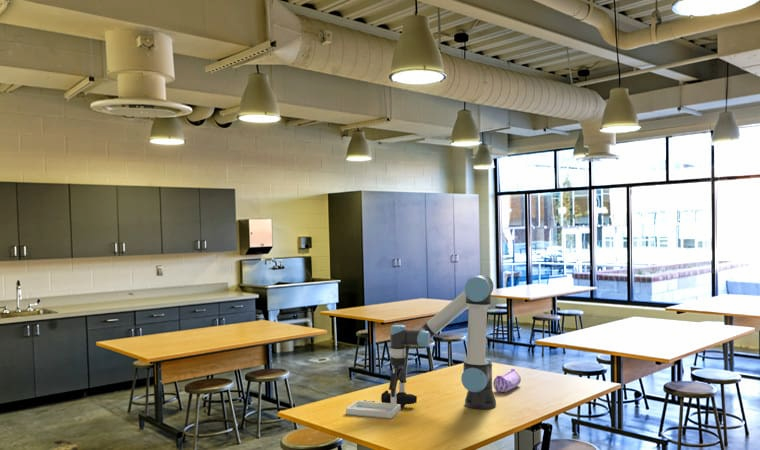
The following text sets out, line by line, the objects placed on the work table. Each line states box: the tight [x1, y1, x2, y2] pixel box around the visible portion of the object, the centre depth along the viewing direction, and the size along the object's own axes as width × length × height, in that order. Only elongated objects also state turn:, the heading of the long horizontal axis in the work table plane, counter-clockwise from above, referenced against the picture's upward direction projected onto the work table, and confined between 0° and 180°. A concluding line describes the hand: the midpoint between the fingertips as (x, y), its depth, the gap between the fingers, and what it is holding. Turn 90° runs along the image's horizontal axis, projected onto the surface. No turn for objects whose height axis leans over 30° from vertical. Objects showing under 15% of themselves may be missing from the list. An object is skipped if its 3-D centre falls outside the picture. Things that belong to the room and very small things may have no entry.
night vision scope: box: [380, 390, 418, 409], centre depth 293 cm, size 8×18×10 cm
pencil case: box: [492, 368, 522, 393], centre depth 326 cm, size 22×9×10 cm, turn 149°
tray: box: [345, 400, 402, 420], centre depth 284 cm, size 22×14×3 cm, turn 71°
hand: (397, 400), depth 295 cm, fingers open, 13 cm apart
